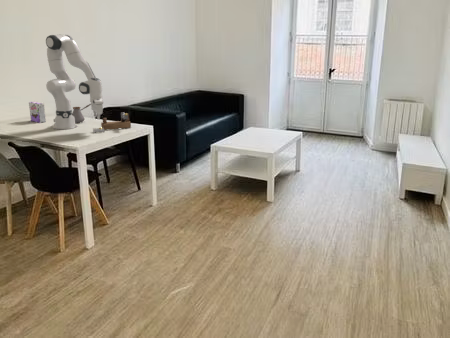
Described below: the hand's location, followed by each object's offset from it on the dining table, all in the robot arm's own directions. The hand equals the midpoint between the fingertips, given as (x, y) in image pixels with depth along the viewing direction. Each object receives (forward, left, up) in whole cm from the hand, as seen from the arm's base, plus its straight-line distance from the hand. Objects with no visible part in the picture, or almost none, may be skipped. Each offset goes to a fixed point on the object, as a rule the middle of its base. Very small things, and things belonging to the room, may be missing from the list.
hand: (96, 117), depth 314 cm
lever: (-3, +22, -6) cm, 23 cm away
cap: (+1, +1, -11) cm, 11 cm away
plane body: (-7, +17, -11) cm, 21 cm away
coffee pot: (-46, -1, -11) cm, 48 cm away
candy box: (-61, -35, -11) cm, 72 cm away
